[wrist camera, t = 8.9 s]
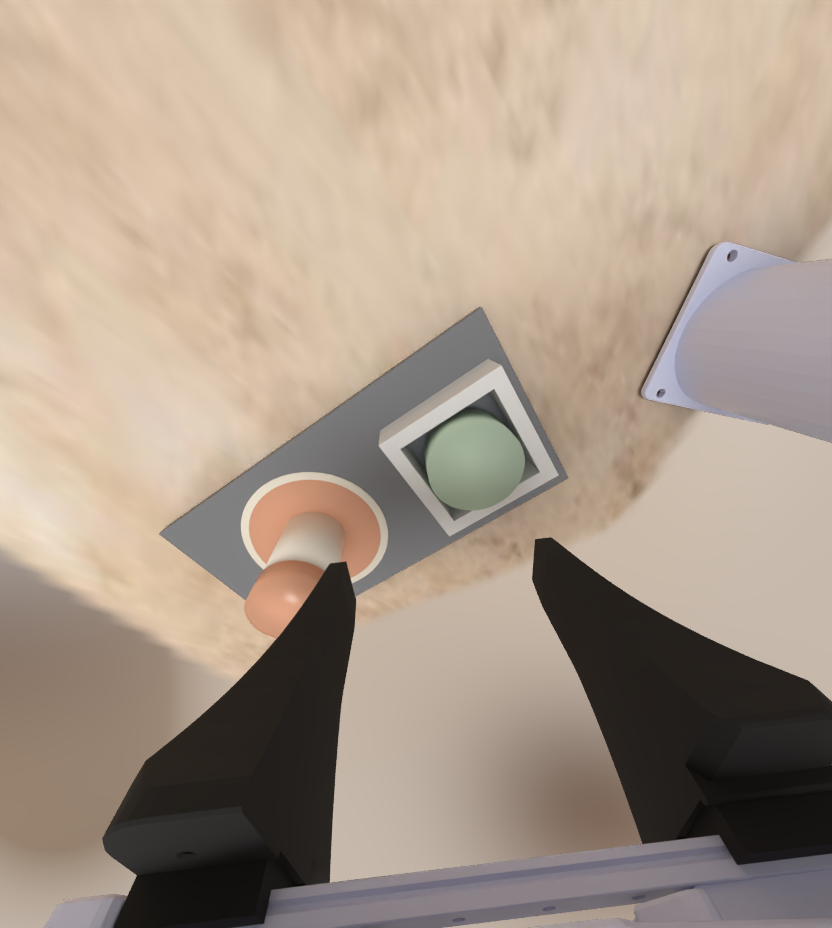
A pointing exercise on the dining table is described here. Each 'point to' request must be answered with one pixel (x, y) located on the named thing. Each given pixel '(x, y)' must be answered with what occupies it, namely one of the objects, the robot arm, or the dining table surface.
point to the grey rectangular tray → (374, 468)
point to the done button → (473, 460)
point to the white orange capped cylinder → (294, 570)
